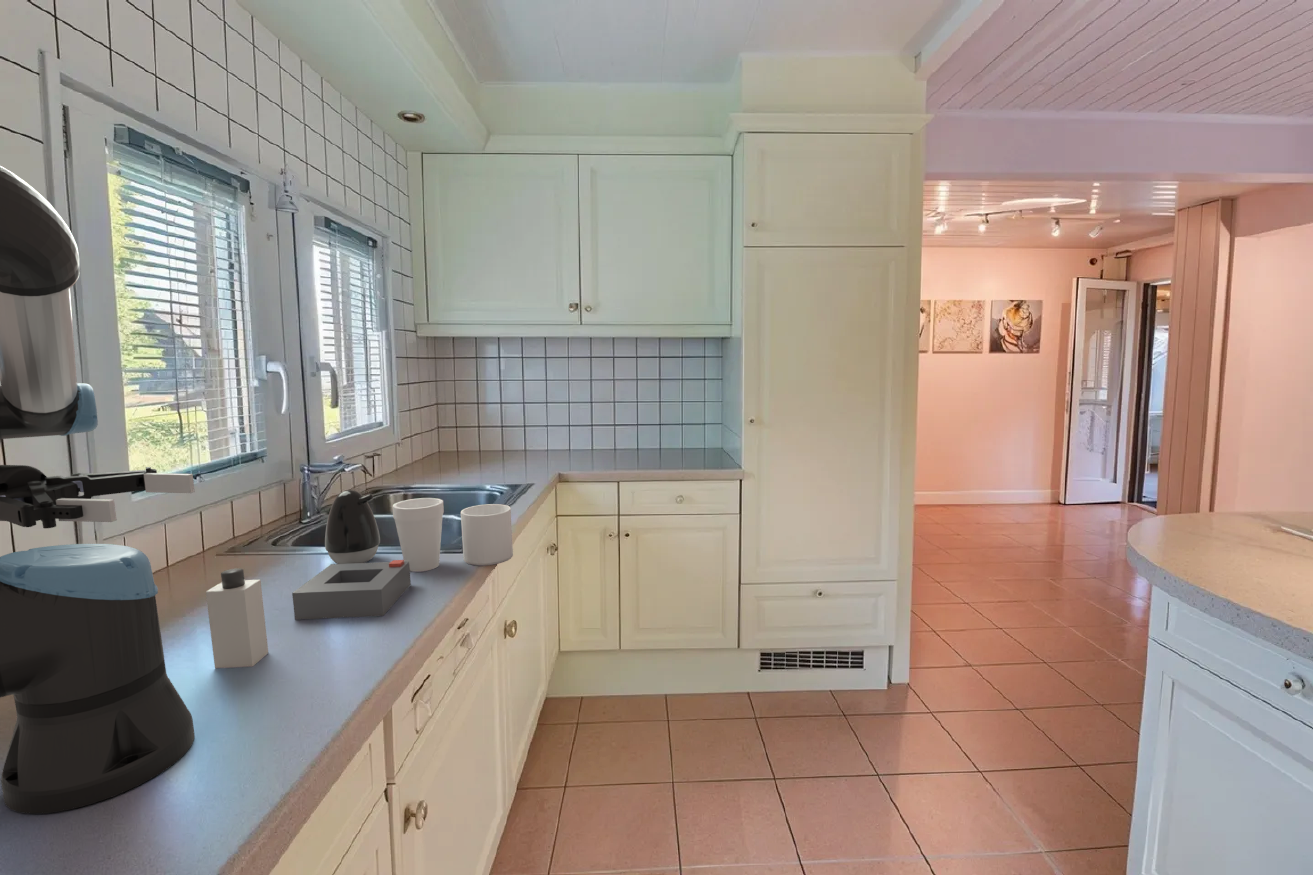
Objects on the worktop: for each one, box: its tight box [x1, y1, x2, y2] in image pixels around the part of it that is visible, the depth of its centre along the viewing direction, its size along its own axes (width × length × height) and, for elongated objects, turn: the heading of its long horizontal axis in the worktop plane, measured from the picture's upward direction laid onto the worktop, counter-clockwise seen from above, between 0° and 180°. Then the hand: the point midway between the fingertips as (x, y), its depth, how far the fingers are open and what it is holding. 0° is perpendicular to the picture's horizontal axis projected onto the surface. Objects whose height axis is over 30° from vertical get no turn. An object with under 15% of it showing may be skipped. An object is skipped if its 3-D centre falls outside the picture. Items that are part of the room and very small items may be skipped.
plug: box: [205, 567, 269, 669], centre depth 88 cm, size 4×5×13 cm
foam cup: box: [391, 497, 445, 573], centre depth 127 cm, size 10×9×13 cm
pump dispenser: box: [324, 489, 381, 564], centre depth 130 cm, size 10×10×15 cm
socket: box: [291, 559, 412, 621], centre depth 110 cm, size 14×14×5 cm
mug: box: [460, 503, 514, 567], centre depth 133 cm, size 13×10×10 cm
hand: (155, 496), depth 85 cm, fingers open, 13 cm apart
